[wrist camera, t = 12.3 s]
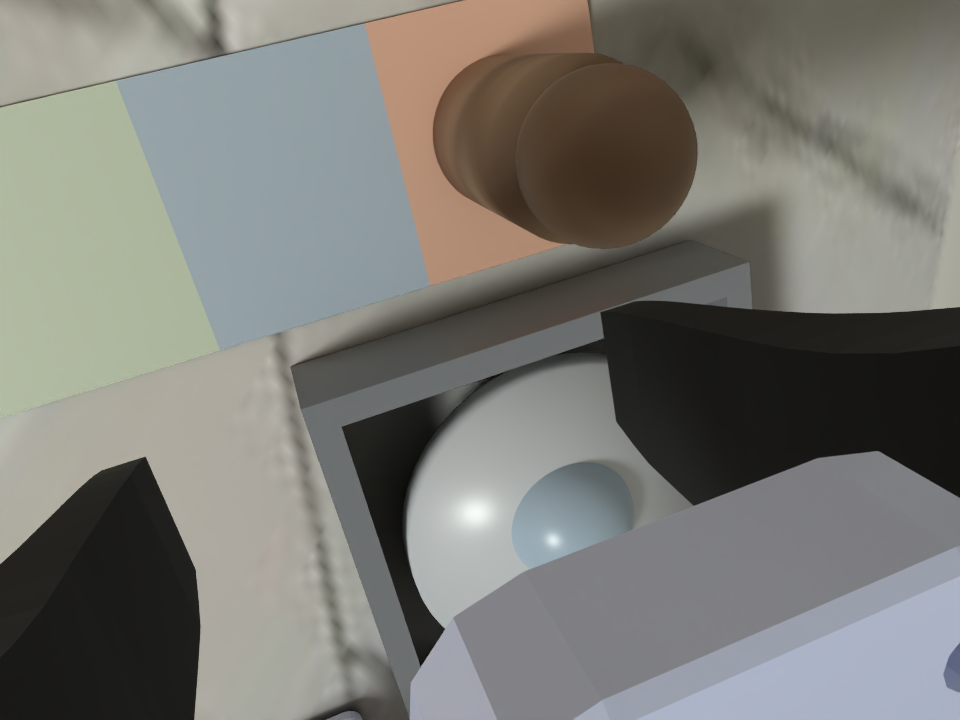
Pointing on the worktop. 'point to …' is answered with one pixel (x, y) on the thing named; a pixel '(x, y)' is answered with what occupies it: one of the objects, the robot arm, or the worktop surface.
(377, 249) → the strip
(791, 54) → the worktop surface
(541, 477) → the dome
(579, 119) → the walnut pawn
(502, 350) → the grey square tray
